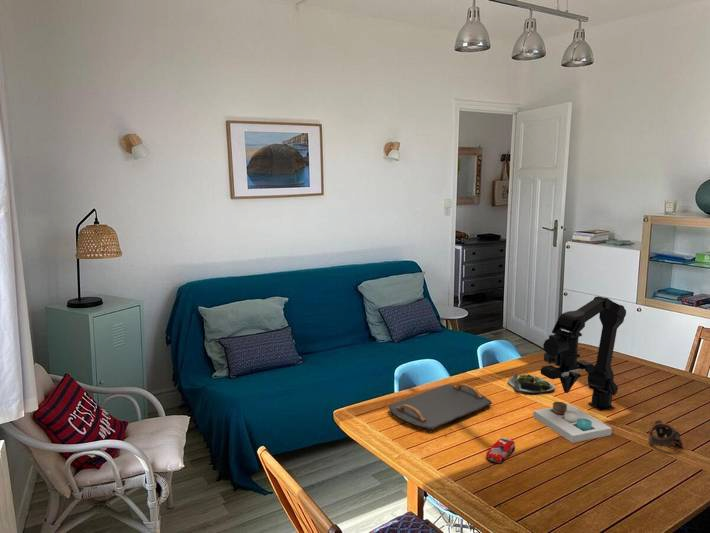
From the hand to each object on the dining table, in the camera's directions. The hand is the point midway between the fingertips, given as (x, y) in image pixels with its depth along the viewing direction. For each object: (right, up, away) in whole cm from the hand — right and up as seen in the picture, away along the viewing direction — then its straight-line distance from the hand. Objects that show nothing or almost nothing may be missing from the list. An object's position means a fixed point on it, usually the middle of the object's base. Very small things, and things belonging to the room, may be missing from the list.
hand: (566, 392), depth 187 cm
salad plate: (-2, -6, +33) cm, 33 cm away
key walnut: (-1, -8, +4) cm, 9 cm away
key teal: (+3, -11, -7) cm, 14 cm away
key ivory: (+1, -10, -2) cm, 10 cm away
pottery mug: (+26, -14, -14) cm, 33 cm away
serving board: (-42, -10, +12) cm, 45 cm away
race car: (-28, -15, -20) cm, 38 cm away
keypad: (+1, -11, -1) cm, 11 cm away
